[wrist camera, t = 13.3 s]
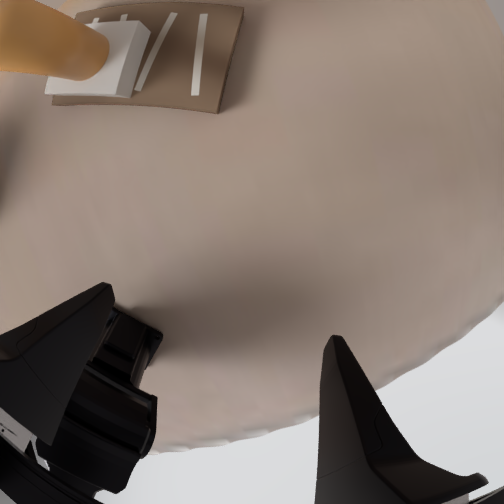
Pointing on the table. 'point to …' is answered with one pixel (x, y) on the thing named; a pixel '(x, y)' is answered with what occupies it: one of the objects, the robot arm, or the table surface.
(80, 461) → the robot arm
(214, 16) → the walnut board
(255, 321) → the table surface
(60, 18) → the rubber stamp
